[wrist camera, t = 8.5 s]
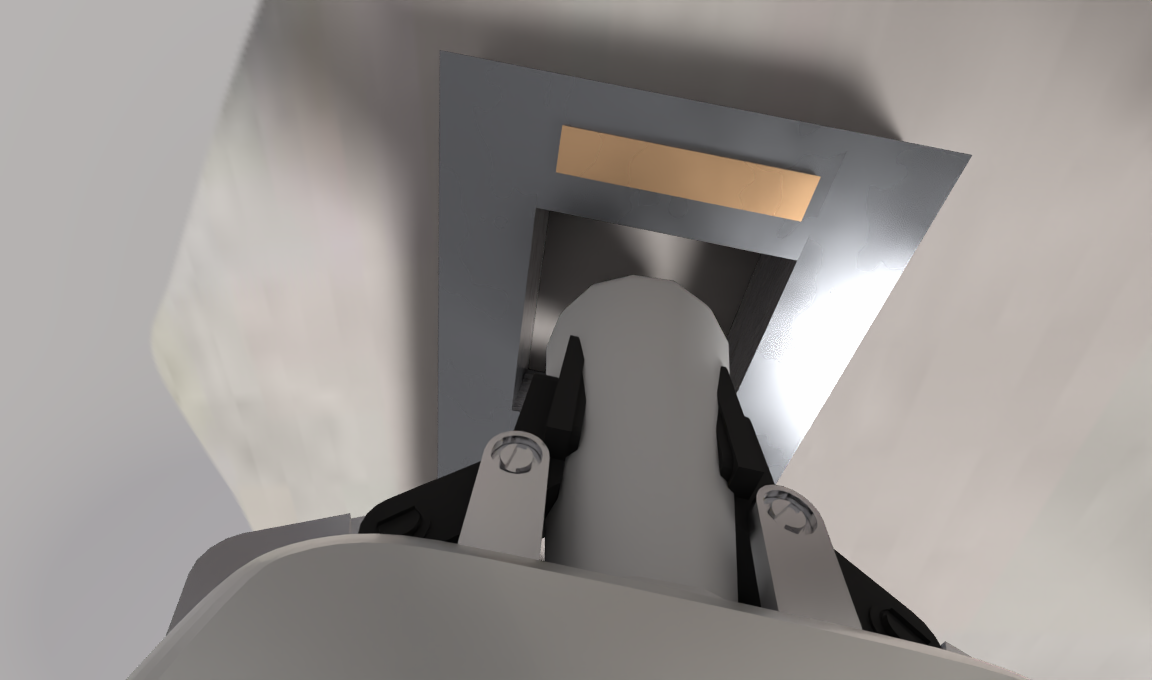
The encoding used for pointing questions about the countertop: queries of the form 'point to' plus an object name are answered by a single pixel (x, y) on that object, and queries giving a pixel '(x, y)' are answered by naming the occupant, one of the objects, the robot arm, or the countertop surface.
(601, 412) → the salt shaker
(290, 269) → the countertop surface
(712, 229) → the socket panel
